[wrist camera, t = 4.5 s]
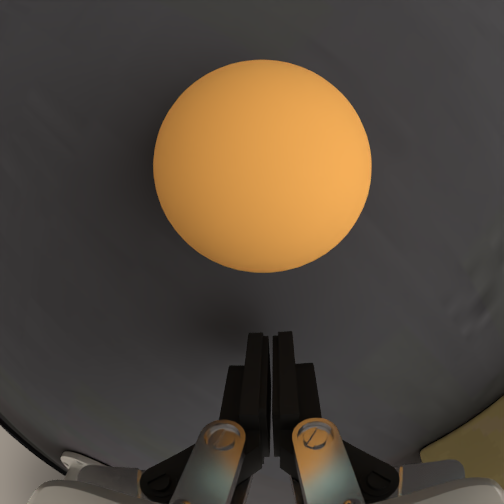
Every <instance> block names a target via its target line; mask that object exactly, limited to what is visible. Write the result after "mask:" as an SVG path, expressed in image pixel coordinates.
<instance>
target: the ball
mask: <svg viewBox="0 0 504 504" xmlns="http://www.w3.org/2000/svg"><path fill="white" fill-rule="evenodd" d="M153 172H154V181H155V186H156V191H157V195H158V198H159V201H160V204H161V207H162V209H163V211H164V213H165V215H166V217H167V219H168V220H169V222H170V223H171V225H172V226H173V227H174V229H175V230H176V231H177V233H178V234H179V235H180V236H181V237H182V238H183V239H184V240H185V241H186V242H187V243H188V244H189V245H190V246H191V247H192V248H194V249H195V250H196V251H197V252H198V253H200V254H202V255H203V256H205V257H207V258H208V259H210V260H212V261H214V262H216V263H219V264H221V265H223V266H226V267H229V268H233V269H236V270H241V271H248V272H255V273H271V272H279V271H285V270H289V269H293V268H297V267H300V266H302V265H305V264H307V263H310V262H312V261H314V260H316V259H317V258H319V257H321V256H323V255H324V254H326V253H327V252H328V251H330V250H331V249H332V248H334V247H335V246H336V245H337V244H338V243H339V242H340V241H341V240H342V239H343V238H344V237H345V236H346V235H347V234H348V232H349V231H350V230H351V228H352V227H353V225H354V224H355V222H356V221H357V219H358V217H359V215H360V213H361V211H362V209H363V207H364V204H365V202H366V199H367V196H368V192H369V187H370V182H371V153H370V146H369V142H368V138H367V135H366V132H365V130H364V127H363V125H362V123H361V120H360V118H359V117H358V115H357V113H356V111H355V110H354V108H353V107H352V105H351V104H350V103H349V101H348V100H347V99H346V98H345V97H344V96H343V95H342V94H341V93H340V92H339V91H338V90H337V89H336V88H335V87H334V86H333V85H332V84H330V83H329V82H328V81H326V80H325V79H324V78H322V77H321V76H319V75H317V74H315V73H314V72H312V71H310V70H307V69H305V68H303V67H300V66H297V65H294V64H291V63H286V62H281V61H274V60H250V61H243V62H238V63H234V64H230V65H227V66H224V67H221V68H219V69H216V70H214V71H212V72H210V73H208V74H206V75H205V76H203V77H202V78H200V79H199V80H197V81H196V82H195V83H193V84H192V85H191V86H190V87H188V88H187V89H186V90H185V91H184V92H183V93H182V95H181V96H180V97H179V98H178V99H177V100H176V102H175V103H174V104H173V106H172V107H171V109H170V110H169V112H168V113H167V115H166V117H165V119H164V121H163V123H162V125H161V128H160V130H159V133H158V137H157V141H156V145H155V151H154V160H153Z"/></svg>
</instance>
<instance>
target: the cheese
mask: <svg viewBox="0 0 504 504" xmlns="http://www.w3.org/2000/svg"><path fill="white" fill-rule="evenodd" d="M420 457H421V460H422V463H426V462H434V461H441V460H447V459H455V460H457V461H459V462H460V463H461V464H462V465H463V467H464V470H465V478H472V477H483V478H490V479H493V480H495V481H496V482H497V483H498V484H499V485H500V486H501V487H502V489H503V490H504V395H503V396H502V397H501V398H500V399H498V400H497V401H496V402H495V403H493V404H492V405H491V406H490V407H488V408H487V409H486V410H484V411H483V412H482V413H480V414H479V415H477V416H476V417H475V418H473V419H472V420H470V421H469V422H467V423H466V424H464V425H463V426H461V427H459V428H458V429H456V430H455V431H453V432H451V433H450V434H448V435H446V436H445V437H443V438H441V439H439V440H437V441H436V442H434V443H432V444H430V445H428V446H427V447H425V448H424V449H422V450H421V452H420Z"/></svg>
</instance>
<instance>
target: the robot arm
mask: <svg viewBox="0 0 504 504" xmlns="http://www.w3.org/2000/svg"><path fill="white" fill-rule="evenodd" d="M272 419H273V441H274V457H280V468H281V469H283V470H284V471H285V472H287V473H288V474H289V475H290V480H291V485H292V490H293V495H294V499H295V504H504V490H503V489H502V487H501V486H500V485H499V484H498V483H497V482H496V481H495V480H493V479H490V478H483V477H472V478H465V470H464V467H463V465H462V464H461V463H460V462H459V461H457V460H455V459H447V460H441V461H434V462H426V463H417V464H405V465H402V466H401V467H392V466H391V465H389V464H387V463H385V462H383V461H381V460H379V459H377V458H375V457H373V456H371V455H369V454H367V453H365V452H363V451H362V450H360V449H358V448H356V447H354V446H352V445H351V444H349V443H347V442H345V441H343V440H342V439H341V436H340V434H339V431H338V429H337V427H336V426H335V425H334V424H333V423H332V422H331V421H329V420H326V419H323V418H321V410H320V404H319V397H318V390H317V384H316V377H315V371H314V365H313V363H303V364H295V357H294V346H293V336H292V331H289V332H278V336H273V392H272ZM270 421H271V374H270V355H269V338H268V336H263V333H249V334H248V342H247V351H246V359H245V366H229V369H228V374H227V380H226V385H225V390H224V396H223V401H222V407H221V412H220V418H219V420H217V421H213V422H211V423H209V424H208V425H206V426H205V427H204V428H203V429H202V431H201V432H200V435H199V437H198V439H197V442H196V444H194V445H192V446H190V447H189V448H187V449H185V450H183V451H182V452H180V453H178V454H176V455H174V456H172V457H170V458H168V459H167V460H165V461H163V462H161V463H159V464H157V465H155V466H153V467H151V468H149V469H147V470H139V469H138V468H125V467H111V466H106V465H104V464H101V463H99V462H97V461H95V460H93V459H90V458H88V457H86V456H83V455H80V454H77V453H74V452H70V451H65V452H63V454H62V456H61V461H62V462H63V464H64V465H65V466H66V467H67V468H68V469H69V470H68V472H67V474H66V476H65V478H64V480H52V481H48V482H45V483H43V484H41V485H40V486H39V487H38V488H37V489H36V490H35V491H34V493H33V494H32V496H31V497H30V499H29V501H28V503H27V504H246V501H247V497H248V494H249V490H250V486H251V483H252V479H253V474H254V473H256V472H257V471H258V470H260V469H261V468H262V464H264V457H269V456H270Z"/></svg>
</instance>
